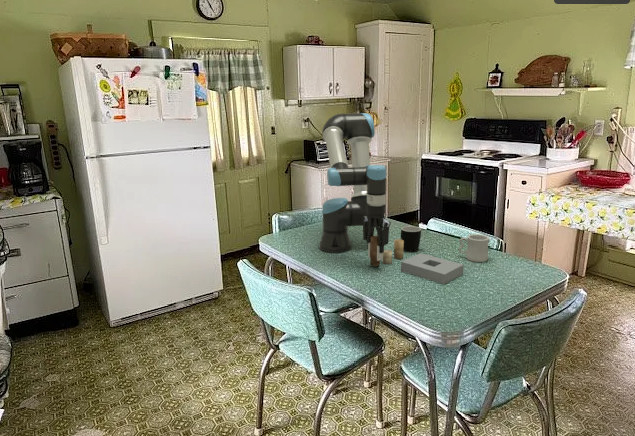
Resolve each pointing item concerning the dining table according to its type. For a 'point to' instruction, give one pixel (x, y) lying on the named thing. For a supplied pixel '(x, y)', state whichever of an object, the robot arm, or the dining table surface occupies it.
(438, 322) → the dining table surface
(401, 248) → the medium pin
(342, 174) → the robot arm
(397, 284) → the dining table surface
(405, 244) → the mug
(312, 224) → the dining table surface
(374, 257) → the long pin
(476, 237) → the mug
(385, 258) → the short pin
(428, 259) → the hole board
